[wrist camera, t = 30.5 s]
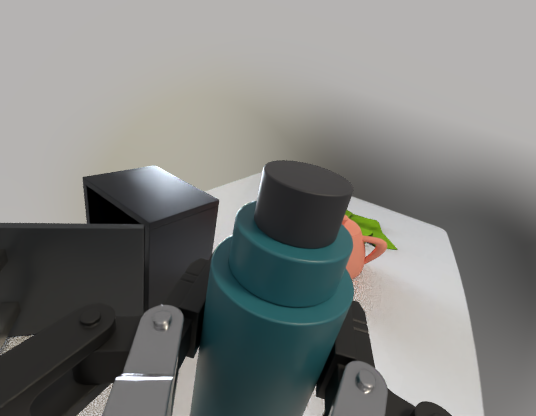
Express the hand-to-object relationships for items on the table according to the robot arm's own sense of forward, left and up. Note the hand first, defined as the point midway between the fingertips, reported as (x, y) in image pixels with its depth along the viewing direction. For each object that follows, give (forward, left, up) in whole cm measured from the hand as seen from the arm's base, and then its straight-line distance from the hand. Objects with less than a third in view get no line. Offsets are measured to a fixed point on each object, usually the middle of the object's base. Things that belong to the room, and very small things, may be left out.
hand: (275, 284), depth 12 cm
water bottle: (-1, -2, -7) cm, 8 cm away
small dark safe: (-5, +33, -27) cm, 43 cm away
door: (-14, +20, -27) cm, 36 cm away
